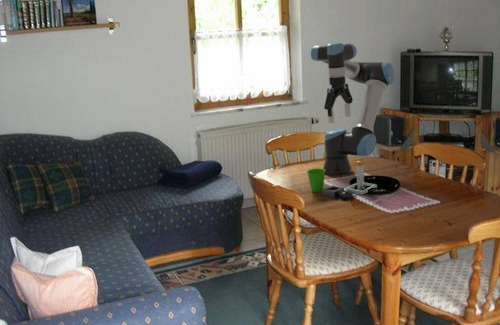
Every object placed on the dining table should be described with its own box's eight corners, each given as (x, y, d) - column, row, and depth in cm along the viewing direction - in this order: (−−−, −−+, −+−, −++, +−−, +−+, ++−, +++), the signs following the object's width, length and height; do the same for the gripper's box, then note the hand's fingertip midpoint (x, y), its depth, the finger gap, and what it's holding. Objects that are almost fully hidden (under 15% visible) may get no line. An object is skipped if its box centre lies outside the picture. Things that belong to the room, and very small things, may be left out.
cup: (326, 195, 284) (324, 173, 281) (307, 195, 286) (305, 173, 283) (327, 189, 293) (326, 168, 290) (309, 189, 295) (307, 168, 292)
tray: (360, 186, 293) (359, 181, 292) (376, 189, 286) (376, 184, 285) (344, 192, 285) (344, 188, 285) (361, 196, 278) (361, 191, 277)
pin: (360, 188, 288) (359, 159, 284) (366, 189, 285) (365, 161, 281) (355, 190, 285) (354, 161, 282) (361, 191, 282) (360, 162, 279)
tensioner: (332, 192, 288) (332, 182, 286) (357, 197, 277) (357, 187, 275) (320, 197, 282) (319, 187, 281) (345, 203, 271) (344, 193, 270)
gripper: (345, 71, 294) (348, 113, 300) (314, 80, 277) (318, 124, 283) (358, 71, 289) (360, 114, 295) (327, 81, 272) (330, 126, 278)
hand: (339, 119), depth 289 cm, fingers open, 13 cm apart
